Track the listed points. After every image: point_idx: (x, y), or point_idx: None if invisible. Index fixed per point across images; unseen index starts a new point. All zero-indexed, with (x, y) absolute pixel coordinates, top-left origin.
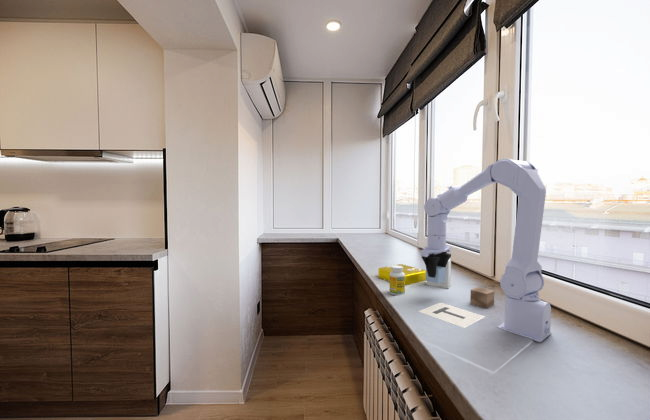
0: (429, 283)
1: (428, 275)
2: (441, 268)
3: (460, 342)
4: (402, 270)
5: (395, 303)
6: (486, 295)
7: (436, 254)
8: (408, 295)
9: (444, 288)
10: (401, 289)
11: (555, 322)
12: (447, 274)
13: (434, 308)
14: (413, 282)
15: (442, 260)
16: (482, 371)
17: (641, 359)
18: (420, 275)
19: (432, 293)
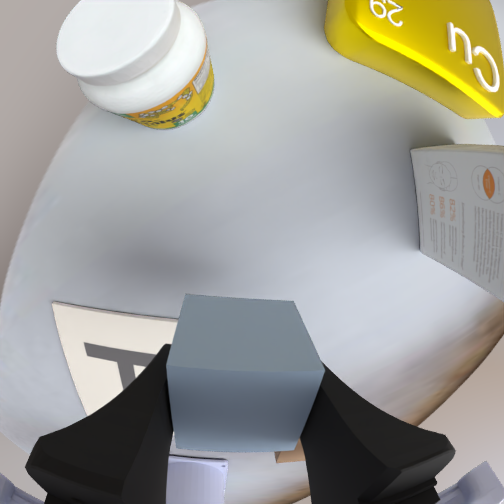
0: (420, 164)
1: (161, 349)
2: (238, 448)
3: (45, 413)
4: (119, 82)
5: (50, 184)
6: (276, 457)
7: (362, 490)
8: (186, 151)
9: (420, 235)
10: (142, 124)
11: (292, 480)
12: (465, 273)
13: (117, 335)
14: (400, 78)
15: (319, 477)
16: (27, 432)
17: None
18: (460, 98)
19: (317, 227)
